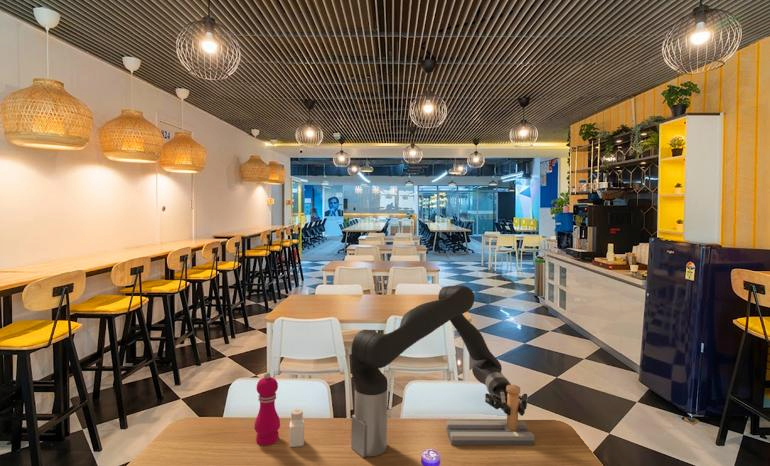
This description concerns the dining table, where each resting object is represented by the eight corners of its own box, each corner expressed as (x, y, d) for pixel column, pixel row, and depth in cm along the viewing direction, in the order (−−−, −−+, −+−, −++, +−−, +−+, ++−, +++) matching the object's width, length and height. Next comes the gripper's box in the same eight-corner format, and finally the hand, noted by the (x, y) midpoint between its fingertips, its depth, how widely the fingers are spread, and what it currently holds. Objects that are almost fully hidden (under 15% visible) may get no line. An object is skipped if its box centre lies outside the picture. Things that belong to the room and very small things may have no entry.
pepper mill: (285, 439, 126) (285, 372, 124) (263, 449, 120) (262, 379, 119) (271, 430, 131) (271, 366, 129) (249, 439, 125) (249, 372, 124)
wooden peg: (507, 435, 126) (508, 390, 126) (503, 428, 130) (504, 384, 130) (520, 435, 127) (522, 390, 126) (516, 428, 131) (517, 384, 130)
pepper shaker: (303, 447, 122) (303, 414, 121) (289, 448, 121) (289, 415, 121) (304, 439, 126) (304, 407, 125) (290, 440, 125) (290, 408, 125)
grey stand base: (451, 445, 124) (451, 435, 124) (446, 429, 133) (446, 420, 133) (534, 445, 124) (534, 436, 124) (523, 429, 133) (523, 420, 133)
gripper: (478, 376, 142) (492, 399, 125) (520, 376, 142) (540, 400, 125) (477, 398, 142) (491, 424, 125) (520, 398, 143) (539, 425, 125)
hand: (515, 412), depth 125 cm, fingers closed on wooden peg, 3 cm apart
